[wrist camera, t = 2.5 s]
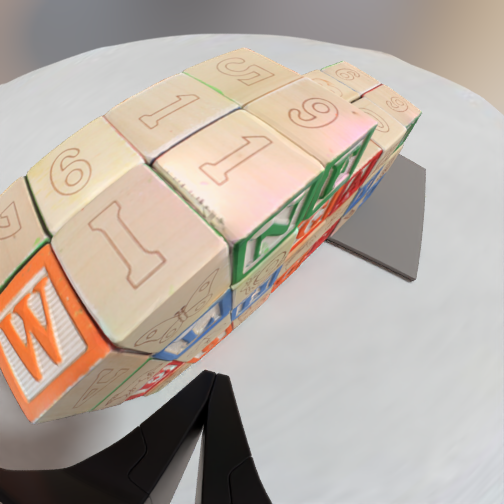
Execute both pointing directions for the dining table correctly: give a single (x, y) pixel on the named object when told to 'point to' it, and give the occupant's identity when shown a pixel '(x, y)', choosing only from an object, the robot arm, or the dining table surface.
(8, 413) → the dining table surface
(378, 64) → the dining table surface
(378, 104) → the stack of blocks
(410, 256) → the mat
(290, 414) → the dining table surface
